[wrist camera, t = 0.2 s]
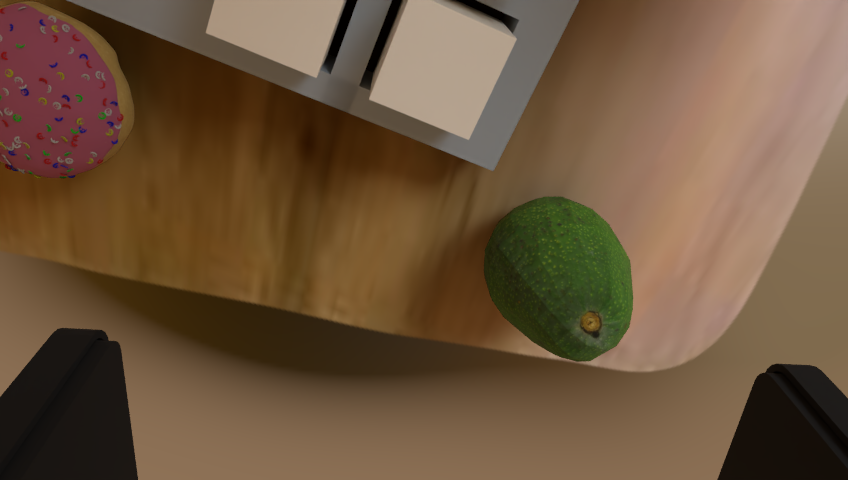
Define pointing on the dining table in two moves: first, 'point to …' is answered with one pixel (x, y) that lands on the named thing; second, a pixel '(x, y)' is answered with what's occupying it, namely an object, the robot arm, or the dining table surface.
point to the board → (346, 74)
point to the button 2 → (441, 63)
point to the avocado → (560, 277)
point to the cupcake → (58, 93)
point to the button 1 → (279, 29)
